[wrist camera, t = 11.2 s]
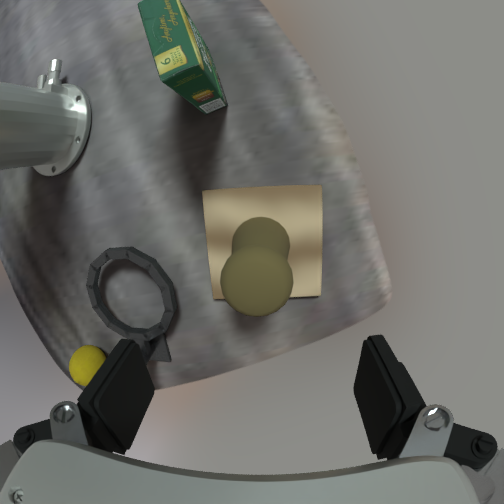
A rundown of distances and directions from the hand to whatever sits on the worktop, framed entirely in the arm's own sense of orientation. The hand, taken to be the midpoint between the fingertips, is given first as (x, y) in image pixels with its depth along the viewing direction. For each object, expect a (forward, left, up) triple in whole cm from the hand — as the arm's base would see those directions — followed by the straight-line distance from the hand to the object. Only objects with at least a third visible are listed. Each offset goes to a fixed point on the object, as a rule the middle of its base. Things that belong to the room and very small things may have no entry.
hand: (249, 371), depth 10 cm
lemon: (+16, -26, -20) cm, 36 cm away
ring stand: (+8, -16, -20) cm, 26 cm away
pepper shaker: (0, 0, -19) cm, 19 cm away
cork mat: (0, 0, -20) cm, 20 cm away
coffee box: (-18, -5, -20) cm, 27 cm away
